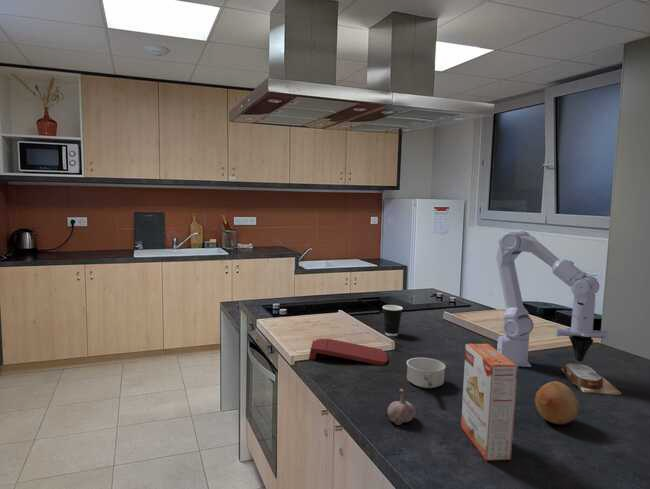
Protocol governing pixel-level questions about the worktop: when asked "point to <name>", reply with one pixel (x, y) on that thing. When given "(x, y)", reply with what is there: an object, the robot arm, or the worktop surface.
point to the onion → (557, 403)
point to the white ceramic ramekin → (425, 372)
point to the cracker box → (489, 401)
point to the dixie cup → (392, 319)
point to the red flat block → (348, 351)
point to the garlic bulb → (401, 410)
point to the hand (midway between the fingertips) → (578, 360)
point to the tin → (583, 376)
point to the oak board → (605, 389)
